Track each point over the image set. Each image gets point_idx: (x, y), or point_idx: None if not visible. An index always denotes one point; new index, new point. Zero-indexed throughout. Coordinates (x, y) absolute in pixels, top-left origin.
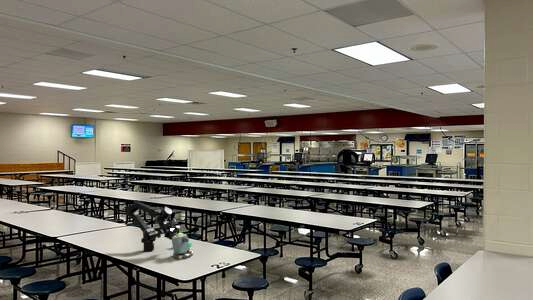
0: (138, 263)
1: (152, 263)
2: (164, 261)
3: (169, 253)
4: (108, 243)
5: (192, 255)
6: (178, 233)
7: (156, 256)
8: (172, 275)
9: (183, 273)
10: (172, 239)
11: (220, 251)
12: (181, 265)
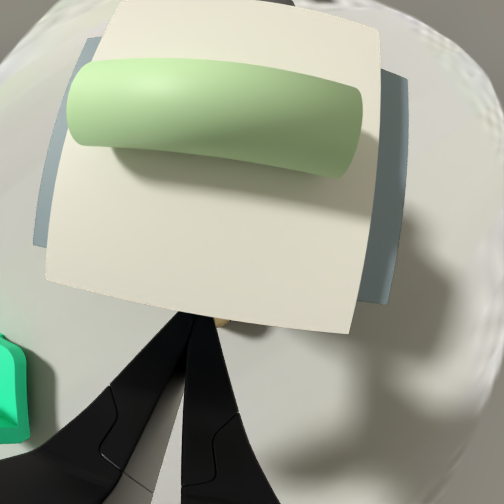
0: (476, 412)
1: (466, 332)
2: (412, 281)
3: None
4: None
5: None
6: (236, 79)
7: (312, 449)
8: (500, 116)
9: (467, 81)
10: (389, 267)
11: (52, 59)
12: (414, 116)
